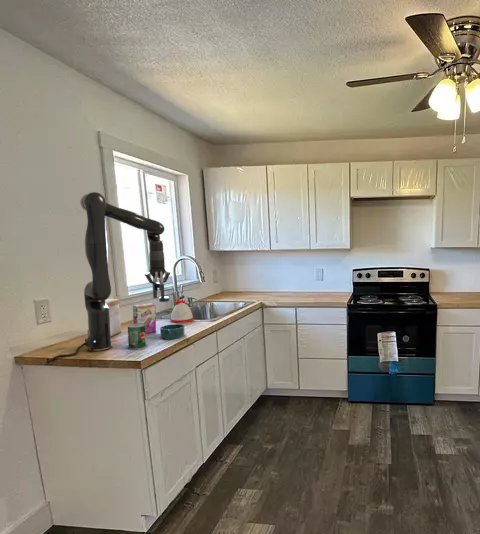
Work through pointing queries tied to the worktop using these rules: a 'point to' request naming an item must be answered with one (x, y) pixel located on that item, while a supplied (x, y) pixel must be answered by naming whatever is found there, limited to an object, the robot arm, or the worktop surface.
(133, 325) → the canned tomato
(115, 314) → the coffeecake box
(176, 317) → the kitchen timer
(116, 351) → the worktop surface
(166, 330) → the bowl
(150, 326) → the candy bar box
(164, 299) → the dark elongated piece
